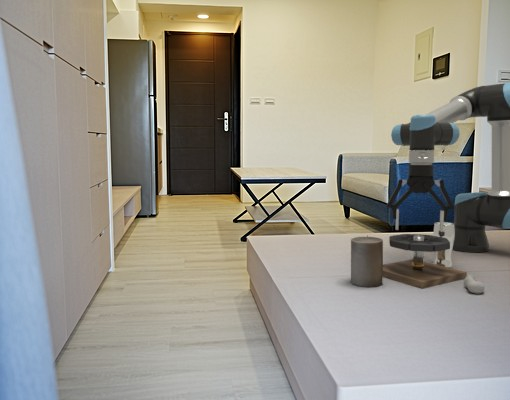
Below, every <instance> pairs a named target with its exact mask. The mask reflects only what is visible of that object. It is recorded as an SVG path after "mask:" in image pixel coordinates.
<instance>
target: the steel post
mask: <svg viewBox="0 0 510 400" xmlns="http://www.w3.org/2000/svg"><path fill="white" fill-rule="evenodd" d="M414 240H415V241H424V236H420V235H415V236H414ZM424 253H425V251H412V259H413V262H412V267H413V270H416V271H422V270H423V267H424V263H423V261H424Z"/></svg>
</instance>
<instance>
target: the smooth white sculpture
mask: <svg viewBox="0 0 510 400" xmlns="http://www.w3.org/2000/svg"><path fill="white" fill-rule="evenodd" d="M463 286H464V288H466V289H468V291H469V292H470V293H472V294H476V295H478V294H479V295H480V294H482V293H484V291H485V285H484V284H483V283H482V281H480V280H477V279H476V277H475V275H473V274H467V277H466V278H465V279H463Z"/></svg>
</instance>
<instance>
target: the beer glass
mask: <svg viewBox="0 0 510 400" xmlns="http://www.w3.org/2000/svg"><path fill="white" fill-rule="evenodd" d="M454 225H455V224H454V222H446V221H444V223H443V232H442V231H440V230H439V229H440V221H438V222H434V226H433V235H432V236H437V237H443V238H447V239H448V241H449V242H450V249H447V250H442V251H436V252H435V253H434V261H433V264H436V265H440V266H444V267H449V268H452V267H453V261H452V253H453V245H454V239H455V226H454Z"/></svg>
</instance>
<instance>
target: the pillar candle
mask: <svg viewBox="0 0 510 400" xmlns="http://www.w3.org/2000/svg"><path fill="white" fill-rule="evenodd" d="M383 257H384V240H383V239H382V238H381V237H375V236H369V235H368V234H367V235H366V236H357V237H352V238H350V283H351V285H352V284H353V285H355V286H358V287H364V288H372V287H373V288H375V287H379V286H382V285H383V276H382V275H383V265H384V263H383V262H384V258H383Z"/></svg>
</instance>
